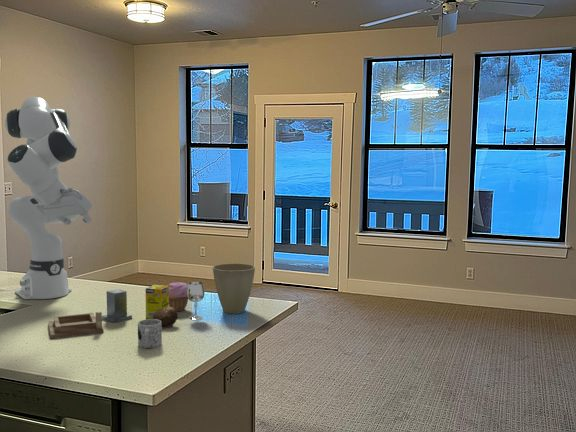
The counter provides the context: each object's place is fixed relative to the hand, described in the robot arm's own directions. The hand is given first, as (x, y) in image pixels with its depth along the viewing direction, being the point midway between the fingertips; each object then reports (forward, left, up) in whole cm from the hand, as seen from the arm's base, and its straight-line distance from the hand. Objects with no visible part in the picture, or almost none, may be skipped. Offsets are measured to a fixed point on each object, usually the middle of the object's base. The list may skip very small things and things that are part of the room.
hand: (78, 222), depth 184 cm
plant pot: (+29, +42, -33) cm, 61 cm away
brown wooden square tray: (+7, -6, -33) cm, 34 cm away
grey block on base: (+7, +9, -33) cm, 35 cm away
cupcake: (+13, +30, -33) cm, 46 cm away
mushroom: (+25, +15, -33) cm, 44 cm away
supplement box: (+17, +18, -33) cm, 41 cm away
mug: (+38, -1, -33) cm, 51 cm away
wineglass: (+26, +27, -33) cm, 50 cm away
